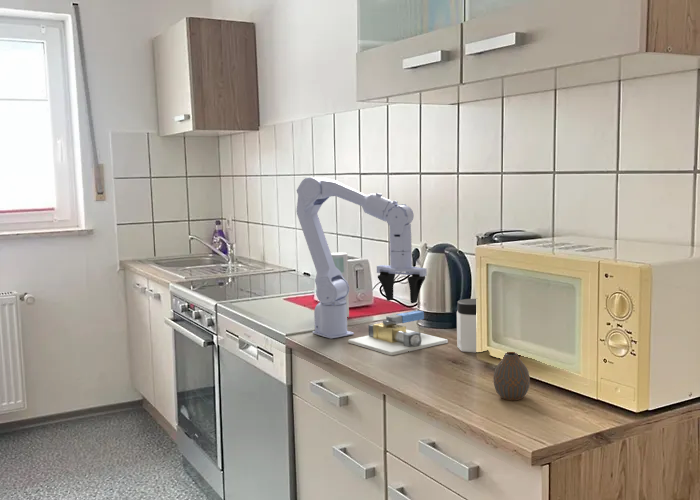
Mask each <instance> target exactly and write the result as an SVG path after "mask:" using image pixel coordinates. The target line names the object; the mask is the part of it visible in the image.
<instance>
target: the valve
mask: <svg viewBox="0 0 700 500" xmlns="http://www.w3.org/2000/svg"><path fill="white" fill-rule="evenodd" d="M367 327H368V335H369V336H371V337H373V338H376V339H380V340H384V341H388V342H390V343H395V342H402V343H404V346H407V347H411V346H416V347H417V346H419V345H420V344H421V341H422V339H421V333H422V332H419V331H415V332H411V333H407V332H406V329H407V326H406V325H400V324H396V325H393V326H385V325H383V322H377V323H372V324H368V325H367Z"/></svg>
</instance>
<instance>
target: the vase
mask: <svg viewBox="0 0 700 500" xmlns="http://www.w3.org/2000/svg"><path fill="white" fill-rule="evenodd" d="M530 378H531V377H530V372H529V369H528V367H527V366H526V364H525V362H523V360H522V359H521V358H520V356H518V354H517V353H515V352H507V353H505V355H504V357H503V359H502V360H501V359H500V361H499V363H498V364H496V366H495V368H494V373H493V385H494V386H493V388H494V389H495V391H496V393H497V394H498V396H500V398H502V399H503V400H507V401H519V400H521V399H523V398H524V397H525V396H526V395H527V393H528V391H529V388H530V383H531V379H530Z"/></svg>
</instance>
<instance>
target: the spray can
mask: <svg viewBox="0 0 700 500" xmlns="http://www.w3.org/2000/svg"><path fill="white" fill-rule="evenodd" d="M331 255H332V258H333V261H334V264H335V267H336V268H337V269H339V270H340V271H341V273H342V276H343V278H344V279H345V280H346V281H347V282H348V283H349V266H348V262H349V261H348V256H349V255H348V253H347V252H331ZM349 301H350V300H349V294H348V295H347V296H346V307H347V317H348V318H349V317H350V306H349V305H350V304H349Z"/></svg>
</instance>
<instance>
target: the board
mask: <svg viewBox="0 0 700 500" xmlns="http://www.w3.org/2000/svg"><path fill="white" fill-rule="evenodd" d="M406 332H407V333H411V332H416V331H414V330H411V329H407V328H406ZM420 333H421V339H422V341H421V344H420V345H419V346H417V347H416V346H411V347H407V346H404V343H402V342H395V343H390V342H388V341H384V340H380V339H376V338H373V337H371V336H369V334H367V335H364V336H363V335H362V336H359V337H355V338H349V339H347V341H348V344H352V345H355V346H359V347H362V348H365V349H368V350H372V351H376V352H379V353H382V354H385V355H388V356H395V355H401V354H405V353H408V351H409V352H413V351H418V350H421V349H426V348H429V347H435V346H438V345H439V346H440V345H443V344H448V343H449V341H448V340H449V339H447V338H444V337H439V336H434V335H430V334H426V333H423V332H420Z"/></svg>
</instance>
